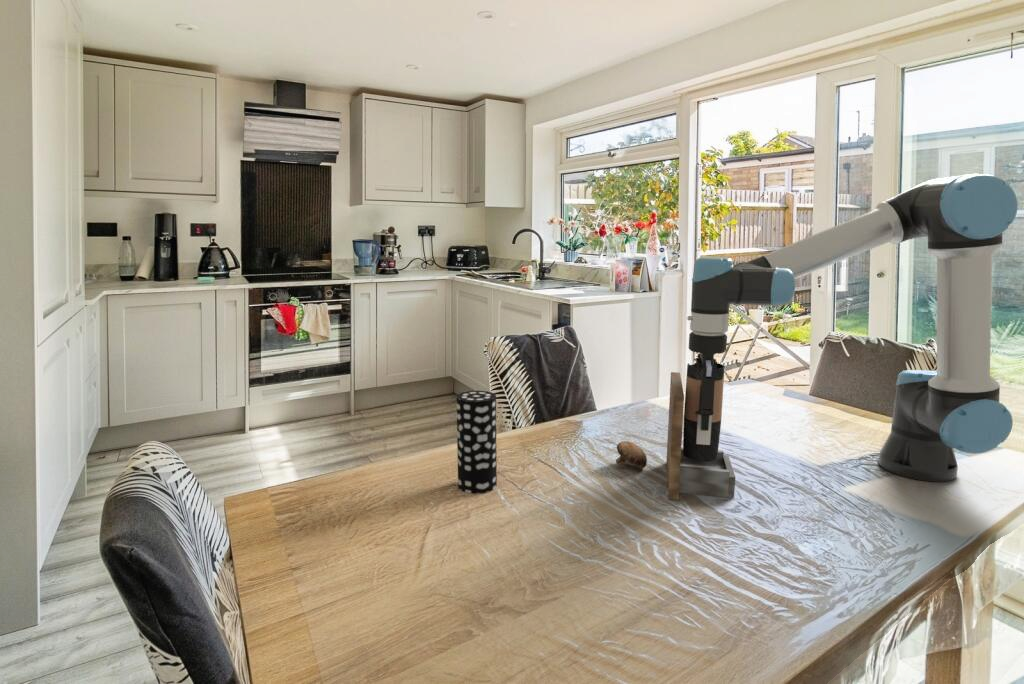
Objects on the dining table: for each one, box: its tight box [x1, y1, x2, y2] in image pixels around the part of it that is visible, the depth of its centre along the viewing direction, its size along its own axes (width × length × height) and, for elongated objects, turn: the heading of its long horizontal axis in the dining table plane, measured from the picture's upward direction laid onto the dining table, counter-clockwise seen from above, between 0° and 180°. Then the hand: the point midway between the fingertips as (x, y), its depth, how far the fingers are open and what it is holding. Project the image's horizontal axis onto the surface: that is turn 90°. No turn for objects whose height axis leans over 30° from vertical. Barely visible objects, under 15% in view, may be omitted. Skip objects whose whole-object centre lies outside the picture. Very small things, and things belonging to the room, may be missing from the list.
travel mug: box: [682, 362, 725, 461], centre depth 131 cm, size 8×8×20 cm
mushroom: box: [615, 440, 648, 469], centre depth 142 cm, size 8×8×6 cm
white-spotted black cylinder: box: [456, 390, 498, 495], centre depth 131 cm, size 8×8×20 cm
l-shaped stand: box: [665, 371, 736, 501], centre depth 132 cm, size 13×20×22 cm, turn 167°
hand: (701, 437), depth 132 cm, fingers closed on travel mug, 8 cm apart
